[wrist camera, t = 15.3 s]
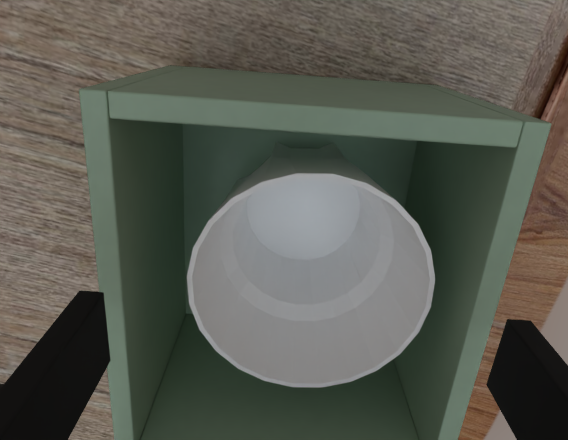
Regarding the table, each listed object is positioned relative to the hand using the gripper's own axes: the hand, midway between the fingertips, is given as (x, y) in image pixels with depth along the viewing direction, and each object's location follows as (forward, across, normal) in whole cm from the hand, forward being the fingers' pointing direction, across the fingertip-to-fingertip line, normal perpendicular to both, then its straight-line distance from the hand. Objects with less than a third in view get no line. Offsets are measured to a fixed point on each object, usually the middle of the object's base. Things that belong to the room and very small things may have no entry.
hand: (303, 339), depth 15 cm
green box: (+14, 0, -1) cm, 14 cm away
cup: (+14, 0, 0) cm, 14 cm away
